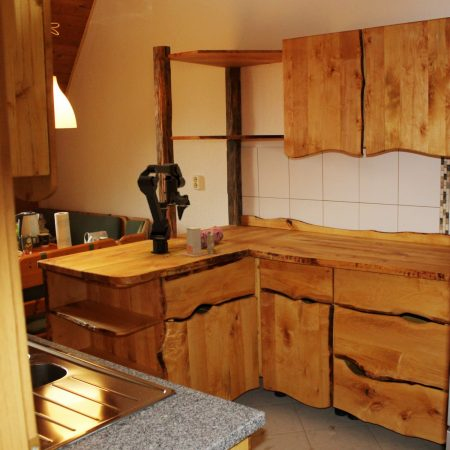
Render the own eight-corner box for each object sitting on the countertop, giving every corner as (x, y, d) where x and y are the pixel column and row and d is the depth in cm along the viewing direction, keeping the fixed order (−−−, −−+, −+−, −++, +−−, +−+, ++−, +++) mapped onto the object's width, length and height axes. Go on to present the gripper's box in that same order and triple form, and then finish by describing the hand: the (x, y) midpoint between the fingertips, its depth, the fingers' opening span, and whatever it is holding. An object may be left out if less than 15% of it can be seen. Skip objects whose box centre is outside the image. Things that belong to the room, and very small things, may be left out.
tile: (193, 257, 274) (193, 256, 274) (180, 255, 281) (180, 253, 281) (208, 254, 280) (208, 253, 280) (195, 252, 287) (195, 250, 287)
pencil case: (205, 250, 292) (204, 232, 291) (188, 249, 296) (187, 231, 295) (224, 243, 311) (224, 226, 310) (208, 242, 315) (208, 225, 314)
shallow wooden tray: (207, 254, 281) (206, 234, 280) (208, 249, 292) (207, 231, 291) (213, 254, 281) (212, 234, 280) (213, 249, 292) (213, 231, 291)
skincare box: (186, 253, 282) (186, 227, 280) (194, 251, 284) (194, 226, 283) (193, 254, 277) (192, 228, 275) (201, 253, 279) (200, 227, 278)
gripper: (167, 191, 284) (168, 224, 286) (197, 188, 297) (198, 220, 299) (152, 190, 292) (153, 222, 294) (182, 187, 305) (183, 218, 307)
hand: (172, 221), depth 298 cm, fingers open, 9 cm apart
